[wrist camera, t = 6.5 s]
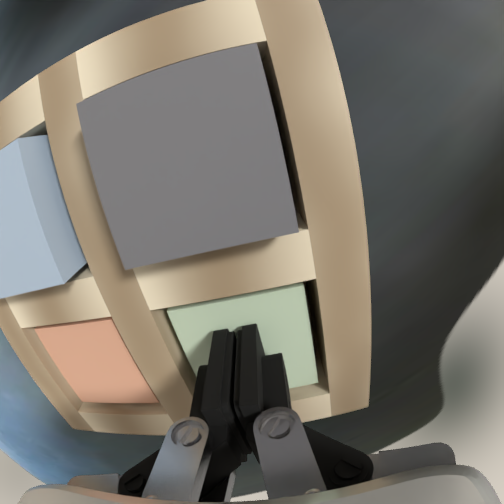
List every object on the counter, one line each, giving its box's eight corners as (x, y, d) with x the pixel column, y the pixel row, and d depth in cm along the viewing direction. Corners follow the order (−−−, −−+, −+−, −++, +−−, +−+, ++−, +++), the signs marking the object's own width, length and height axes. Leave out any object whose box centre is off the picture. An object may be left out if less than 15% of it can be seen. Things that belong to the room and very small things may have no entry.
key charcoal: (255, 68, 9) (256, 43, 6) (286, 205, 11) (299, 232, 8) (118, 109, 9) (76, 104, 6) (154, 236, 11) (125, 270, 8)
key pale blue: (65, 133, 9) (17, 138, 7) (101, 250, 11) (64, 283, 8) (-6, 175, 10) (-50, 190, 7) (26, 271, 12) (-10, 301, 9)
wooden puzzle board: (293, 29, 10) (312, -16, 6) (346, 348, 17) (368, 406, 12) (-3, 145, 12) (-59, 157, 7) (96, 381, 18) (73, 428, 14)
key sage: (292, 252, 13) (303, 285, 10) (308, 341, 15) (318, 382, 12) (182, 275, 13) (166, 311, 11) (213, 357, 15) (207, 399, 12)
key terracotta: (135, 284, 14) (111, 319, 11) (170, 362, 15) (159, 402, 13) (61, 299, 14) (34, 329, 11) (100, 367, 16) (82, 401, 13)
